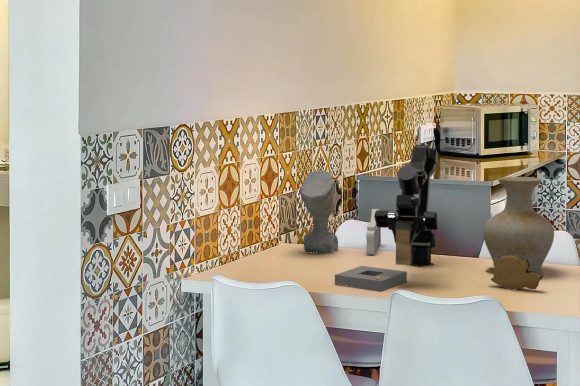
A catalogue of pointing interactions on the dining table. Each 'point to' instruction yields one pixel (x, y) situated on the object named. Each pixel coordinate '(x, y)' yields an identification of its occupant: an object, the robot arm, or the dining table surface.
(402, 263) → the plug
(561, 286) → the dining table surface
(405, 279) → the socket
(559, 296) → the dining table surface
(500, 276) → the wooden carving
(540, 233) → the vase
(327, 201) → the sculpture
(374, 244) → the decorative sign
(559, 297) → the dining table surface
